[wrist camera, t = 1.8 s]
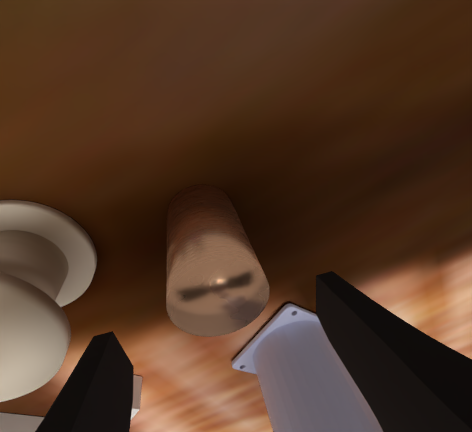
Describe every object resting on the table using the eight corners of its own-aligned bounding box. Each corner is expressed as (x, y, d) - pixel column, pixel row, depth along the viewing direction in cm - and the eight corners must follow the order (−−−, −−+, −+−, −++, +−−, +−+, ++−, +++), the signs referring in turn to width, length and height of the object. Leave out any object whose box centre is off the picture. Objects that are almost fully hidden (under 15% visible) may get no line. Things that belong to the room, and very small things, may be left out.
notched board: (142, 376, 23) (139, 409, 20) (94, 435, 25) (87, 470, 23) (-77, 334, 16) (-114, 374, 14) (-111, 418, 19) (-147, 463, 17)
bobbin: (117, 235, 16) (94, 316, 11) (68, 314, 18) (28, 415, 13) (-27, 174, 13) (-154, 248, 8) (-68, 278, 15) (-190, 391, 10)
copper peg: (246, 204, 17) (289, 282, 11) (210, 251, 18) (230, 345, 12) (190, 171, 15) (204, 242, 9) (154, 226, 16) (146, 321, 10)
